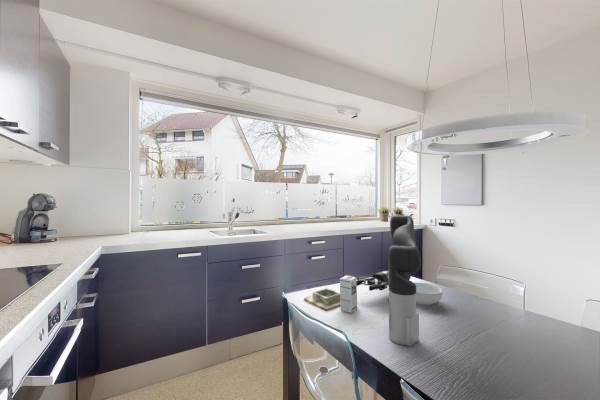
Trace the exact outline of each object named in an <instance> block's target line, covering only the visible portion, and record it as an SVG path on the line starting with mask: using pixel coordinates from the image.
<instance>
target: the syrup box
mask: <svg viewBox="0 0 600 400" xmlns="http://www.w3.org/2000/svg"><path fill="white" fill-rule="evenodd" d="M357 289H358V286H357V277H356V276H352V275H344V276H342V277H340V278H339V293H340V306H339V308H340V310H341V311H342V312H343V311H344V312H348V313H353V312H354V311H356V310H357V309H358V294H357V293H358V290H357Z"/></svg>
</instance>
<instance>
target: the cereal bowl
mask: <svg viewBox="0 0 600 400" xmlns="http://www.w3.org/2000/svg"><path fill="white" fill-rule="evenodd" d="M413 283H414V284H415V285H416V305H421V306H430V305H432V304H436V303H439V302H440V301H441V300H442V298H443V288H441V287H439V286H438V285H435V284H430V283H425V282H413Z"/></svg>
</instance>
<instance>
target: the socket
mask: <svg viewBox="0 0 600 400" xmlns="http://www.w3.org/2000/svg"><path fill="white" fill-rule="evenodd" d="M303 300H304V301H305V302H307V303H309V304H312V305H313V306H316V307H318V308H319V309H322V310H324V311H331V310H333V309H335V308H338V307H340V291H336V290H333V289H331V288H328V287H326V288H323V289H319V290H315V291H313V292H312V295H310V296H306V297H304V298H303Z"/></svg>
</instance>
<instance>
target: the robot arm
mask: <svg viewBox="0 0 600 400" xmlns="http://www.w3.org/2000/svg"><path fill="white" fill-rule="evenodd" d="M389 221H390V222H389V226H390V227H389V229H390V236H391V244H392V245H391V246H389V248H388V249H387V251H388V252H387V263H388V264H387V265H388V270H382V271H380V272H376V273H373V274H372V276H371V277H370V276H369V277H367V276H365V275H364V276H359V277H356V281H357V287H358V286H362V285H363V286H368V290H369V291H374V290H376V291H377V290H379V291H383V290H386V289H387V288H388V337H389V339H390V341H392V342H394V343H396V344H398V345H402V346H407V347H412V346H413V345H415V344H416V343H417V342H419V341H420V315H419V313H417V303H416V285H415V284H414V283H415V282H414V281H412V280H411V277H412V274H415V273H418V272H419V271H420V269H421V266H422V265H421V264H422V259H421V253H420V250H419V248H418V245H417V237H416V234H415V223H414V218H413V217H412V216H410V215H392V216H391V217H390V220H389Z"/></svg>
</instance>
